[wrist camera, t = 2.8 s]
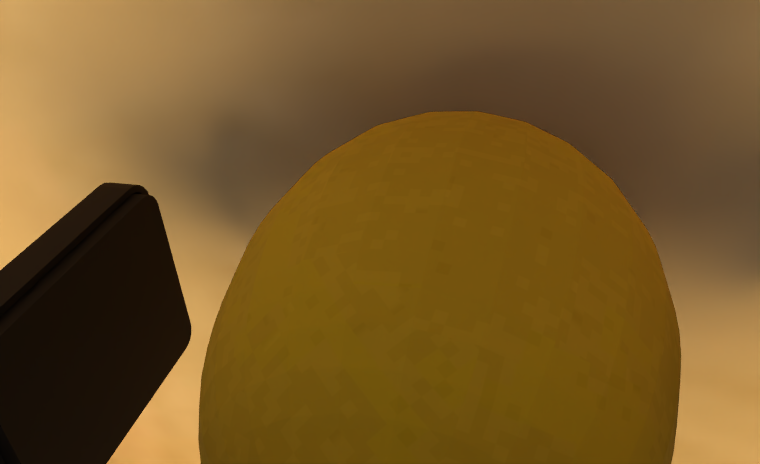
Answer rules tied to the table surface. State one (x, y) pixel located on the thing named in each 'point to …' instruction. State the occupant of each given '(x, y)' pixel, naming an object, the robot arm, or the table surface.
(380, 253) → the lemon
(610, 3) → the table surface
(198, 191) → the table surface
